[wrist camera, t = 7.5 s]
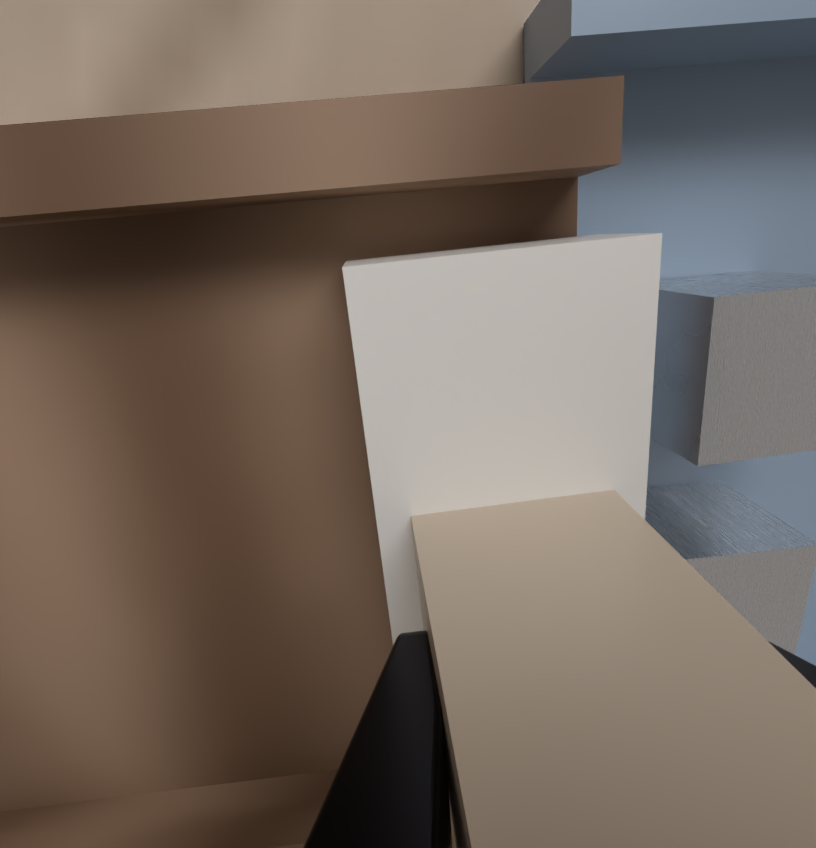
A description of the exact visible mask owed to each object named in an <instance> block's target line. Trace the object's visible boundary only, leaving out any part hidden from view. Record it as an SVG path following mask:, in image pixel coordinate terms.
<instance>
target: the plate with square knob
mask: <svg viewBox="0 0 816 848" xmlns="http://www.w3.org/2000/svg"><path fill="white" fill-rule="evenodd" d="M661 248H662V233H635V234H594V235H584V236H575V237H565V238H556V239H547V240H537V241H528V242H518V243H509V244H500V245H490V246H481V247H471V248H462V249H453V250H443V251H434V252H424V253H415V254H406V255H396V256H387V257H378V258H368V259H359V260H349V261H346V262H345V263H344V265H343V266H342V271H343V278H344V286H345V293H346V300H347V308H348V315H349V323H350V330H351V337H352V345H353V352H354V360H355V367H356V374H357V382H358V389H359V397H360V404H361V411H362V419H363V426H364V434H365V441H366V448H367V456H368V463H369V471H370V478H371V485H372V493H373V500H374V508H375V515H376V522H377V530H378V537H379V545H380V552H381V559H382V567H383V574H384V582H385V589H386V596H387V604H388V611H389V619H390V626H391V633H392V641H393V645H394V643H395V640H396V638H397V637H398V635H400V634H401V633H406V632H415V631H424V630H425V631H427V633H428V638H429V643H430V648H431V654H432V659H433V664H434V670H435V675H436V680H437V686H438V691H439V697H440V702H441V708H442V716H443V727H444V739H445V752H446V765H447V777H448V790H449V803H450V815H451V825H452V831H453V838H454V844H455V848H816V688H815V687H814V686H813V685H812V684H811V683H810V682H809V681H808V680H807V679H806V678H805V677H804V676H803V675H802V674H801V673H800V672H798V671H797V670H796V669H795V668H794V667H793V666H792V665H791V664H790V663H789V662H788V661H787V660H786V659H785V658H784V657H783V656H782V655H781V654H780V653H779V652H778V651H777V650H776V649H775V648H774V647H773V646H772V645H771V644H770V643H769V642H768V641H767V640H766V639H765V638H764V637H763V636H762V635H761V634H760V633H759V632H758V631H757V630H756V629H755V628H754V627H753V626H752V625H751V624H750V623H749V622H748V621H747V620H746V619H745V618H744V617H743V616H742V615H741V614H740V613H739V612H738V611H737V610H736V609H735V608H734V607H733V606H732V605H731V604H730V603H729V602H728V601H727V600H725V599H724V598H723V597H722V596H721V595H720V594H719V593H718V592H717V591H716V590H715V589H714V588H713V587H712V586H711V585H710V584H709V583H708V582H707V581H706V580H705V579H704V578H703V577H702V576H701V575H700V574H699V573H698V572H697V571H696V570H695V569H694V568H693V567H692V566H691V565H690V564H689V563H688V562H687V561H686V560H685V559H684V558H683V557H682V556H681V555H680V554H679V553H678V552H677V551H676V550H675V549H674V548H673V547H672V546H671V545H670V544H669V543H668V542H667V541H666V540H665V539H664V538H663V537H662V536H661V535H660V534H659V533H658V532H657V531H656V530H655V529H654V528H652V527H651V526H650V525H649V524H648V523H647V522H646V521H645V512H646V495H647V479H648V462H649V446H650V429H651V413H652V396H653V380H654V363H655V347H656V330H657V314H658V298H659V281H660V265H661Z"/></svg>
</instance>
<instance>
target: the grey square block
mask: <svg viewBox="0 0 816 848" xmlns="http://www.w3.org/2000/svg"><path fill="white" fill-rule="evenodd" d="M645 521H646V522H647V523H648V524H649V525H650V526H651V527H652V528H654V529H655V530H656V531H657V532H658V533H659V534H660V535H661V536H662V537H663V538H664V539H665V540H666V541H667V542H668V543H669V544H670V545H671V546H672V547H673V548H674V549H675V550H676V551H677V552H678V553H679V554H680V555H681V556H682V557H683V558H684V559H685V560H686V561H687V562H688V563H689V564H690V565H691V566H692V567H693V568H694V569H695V570H696V571H697V572H698V573H699V574H700V575H701V576H702V577H703V578H704V579H705V580H706V581H707V582H708V583H709V584H710V585H711V586H712V587H713V588H714V589H715V590H716V591H717V592H718V593H719V594H720V595H721V596H722V597H723V598H724V599H725V600H727V601H728V602H729V603H730V604H731V605H732V606H733V607H734V608H735V609H736V610H737V611H738V612H739V613H740V614H741V615H742V616H743V617H744V618H745V619H746V620H747V621H748V622H749V623H750V624H751V625H752V626H753V627H754V628H755V629H756V630H757V631H758V632H759V633H760V634H761V635H762V636H763V637H764V638H765V639H766V640H767V641H769V642H771V643H773V644H775V645H777V646H779V647H781V648H783V649H785V650H787V651H788V652H790V653H792V654H794V655H795V651H796V647H797V643H798V638H799V634H800V630H801V625H802V621H803V617H804V612H805V608H806V604H807V599H808V595H809V591H810V586H811V582H812V578H813V573H814V569H815V565H816V542H814V541H813V540H811V539H810V538H808V537H807V536H805V535H803V534H802V533H800V532H799V531H797V530H796V529H794V528H793V527H791V526H790V525H788V524H787V523H785V522H784V521H782V520H781V519H779V518H777V517H776V516H774V515H773V514H771V513H770V512H768V511H767V510H765V509H764V508H762V507H761V506H759V505H758V504H756V503H755V502H753V501H752V500H750V499H748V498H747V497H745V496H744V495H742V494H741V493H739V492H738V491H736V490H735V489H733V488H732V487H730V486H729V485H727V484H726V483H724V482H723V481H716V482H706V483H695V484H685V485H674V486H664V487H653V488H647V495H646V512H645Z"/></svg>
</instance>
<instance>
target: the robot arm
mask: <svg viewBox="0 0 816 848" xmlns="http://www.w3.org/2000/svg"><path fill="white" fill-rule="evenodd" d="M768 642H769V641H768ZM769 643H770V644H771V645H772V646H773V647H774V648H775V649H776V650H777V651H778V652H779V653H780V654H781V655H782V656H783V657H784V658H785V659H786V660H787V661H788V662H789V663H790V664H791V665H792V666H793V667H794V668H795V669H796V670H797V671H798V672H800V673H801V674H802V675H803V676H804V677H805V678H806V679H807V680H808V681H809V682H810V683H811V684H812V685H813V686H814V687H815V688H816V666H815V665H813V664H811V663H809V662H808V661H806V660H804V659H802V658H800V657H798V656H796V655H794V654H792V653H790V652H788V651H787V650H785V649H783V648H781V647H779V646H777V645H775V644H773V643H771V642H769ZM303 848H452V831H451V815H450V803H449V790H448V777H447V765H446V752H445V739H444V727H443V716H442V708H441V702H440V697H439V691H438V686H437V680H436V675H435V670H434V664H433V659H432V654H431V648H430V643H429V638H428V633H427V631H425V630H424V631H415V632H406V633H401V634H400V635H398V637H397V638H396V640H395V643H394V645H393V647H392V649H391V652H390V654H389V656H388V658H387V661H386V663H385V665H384V667H383V670H382V672H381V674H380V676H379V678H378V681H377V683H376V685H375V687H374V690H373V692H372V694H371V696H370V699H369V701H368V703H367V705H366V708H365V710H364V712H363V714H362V717H361V719H360V721H359V723H358V725H357V728H356V730H355V732H354V734H353V737H352V739H351V741H350V743H349V746H348V748H347V750H346V752H345V755H344V757H343V759H342V761H341V763H340V766H339V768H338V770H337V772H336V775H335V777H334V779H333V781H332V784H331V786H330V788H329V790H328V793H327V795H326V797H325V799H324V802H323V804H322V806H321V808H320V810H319V813H318V815H317V817H316V819H315V822H314V824H313V826H312V828H311V831H310V833H309V835H308V837H307V840H306V842H305V844H304V846H303Z"/></svg>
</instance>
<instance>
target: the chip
mask: <svg viewBox="0 0 816 848" xmlns="http://www.w3.org/2000/svg"><path fill="white" fill-rule="evenodd" d="M650 437H652V438H653V439H655V440H656V441H658V442H660V443H661V444H663V445H664V446H666V447H668V448H669V449H671V450H672V451H674V452H676V453H677V454H679V455H680V456H682V457H683V458H685V459H687V460H688V461H690V462H691V463H693V464H695V465H696V466H704V465H711V464H719V463H726V462H733V461H740V460H748V459H755V458H762V457H770V456H777V455H784V454H791V453H799V452H806V451H813V450H816V274H804V273H788V272H773V271H757V270H751V271H741V272H732V273H723V274H713V275H704V276H695V277H686V278H676V279H667V280H660V281H659V298H658V314H657V330H656V347H655V363H654V380H653V396H652V413H651V429H650Z"/></svg>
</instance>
